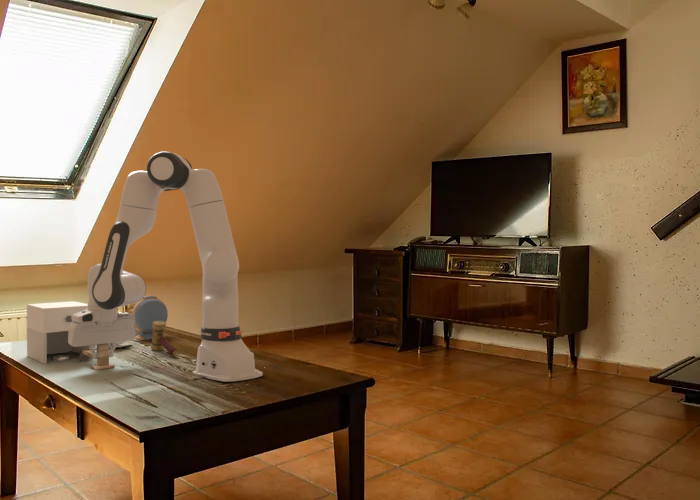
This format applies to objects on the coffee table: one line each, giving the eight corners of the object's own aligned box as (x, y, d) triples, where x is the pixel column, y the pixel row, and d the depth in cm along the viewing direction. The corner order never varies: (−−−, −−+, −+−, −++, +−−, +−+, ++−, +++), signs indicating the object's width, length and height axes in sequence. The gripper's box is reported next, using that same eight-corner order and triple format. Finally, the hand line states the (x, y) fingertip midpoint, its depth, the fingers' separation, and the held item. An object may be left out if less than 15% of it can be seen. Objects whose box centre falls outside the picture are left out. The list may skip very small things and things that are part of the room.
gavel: (181, 368, 221) (184, 341, 219) (169, 369, 219) (171, 342, 216) (161, 345, 238) (163, 320, 235) (148, 346, 235) (151, 321, 233)
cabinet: (94, 358, 218) (94, 305, 218) (44, 364, 207) (44, 308, 207) (74, 350, 232) (74, 301, 232) (27, 356, 221) (26, 304, 221)
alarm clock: (161, 336, 268) (161, 294, 268) (171, 338, 261) (171, 295, 260) (128, 339, 259) (128, 295, 259) (137, 342, 252) (137, 297, 251)
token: (71, 360, 216) (71, 356, 216) (55, 362, 213) (55, 358, 212) (66, 358, 220) (66, 354, 220) (51, 359, 216) (51, 356, 216)
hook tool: (114, 367, 202) (114, 343, 202) (95, 369, 198) (95, 345, 198) (92, 358, 216) (92, 336, 216) (74, 361, 212) (74, 338, 212)
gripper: (130, 310, 211) (130, 352, 211) (66, 315, 197) (66, 360, 197) (138, 312, 206) (138, 355, 206) (73, 317, 192) (73, 363, 192)
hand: (102, 357), depth 202 cm, fingers closed on hook tool, 3 cm apart
